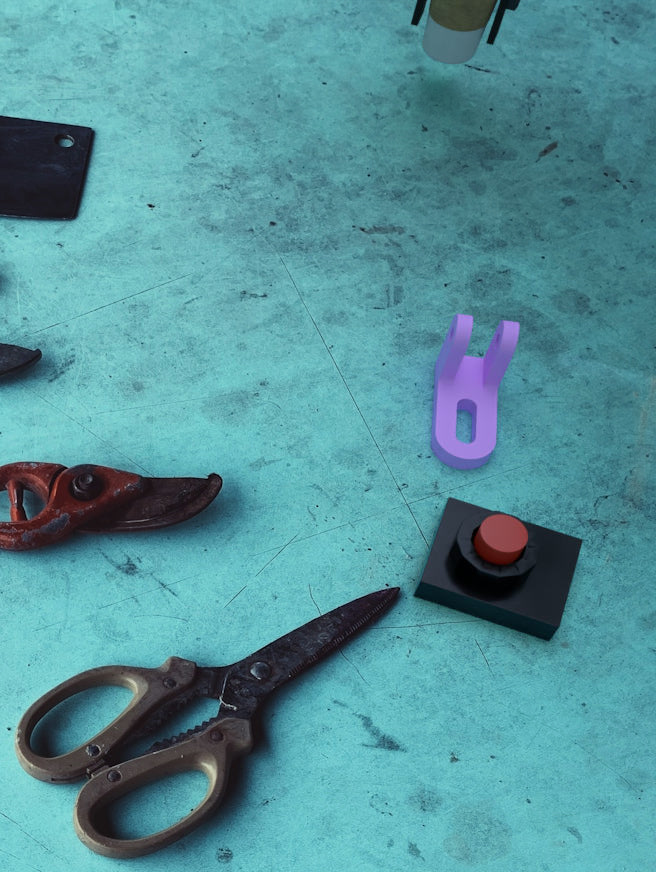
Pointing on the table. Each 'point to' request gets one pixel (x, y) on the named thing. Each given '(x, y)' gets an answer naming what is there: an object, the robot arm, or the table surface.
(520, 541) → the button
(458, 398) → the bracket
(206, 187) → the table surface
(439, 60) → the coffee cup
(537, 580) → the switch box
